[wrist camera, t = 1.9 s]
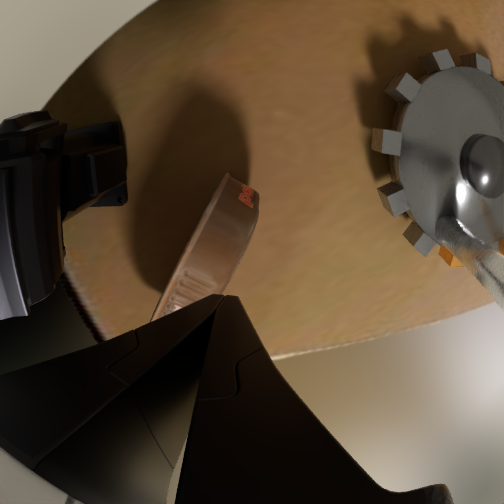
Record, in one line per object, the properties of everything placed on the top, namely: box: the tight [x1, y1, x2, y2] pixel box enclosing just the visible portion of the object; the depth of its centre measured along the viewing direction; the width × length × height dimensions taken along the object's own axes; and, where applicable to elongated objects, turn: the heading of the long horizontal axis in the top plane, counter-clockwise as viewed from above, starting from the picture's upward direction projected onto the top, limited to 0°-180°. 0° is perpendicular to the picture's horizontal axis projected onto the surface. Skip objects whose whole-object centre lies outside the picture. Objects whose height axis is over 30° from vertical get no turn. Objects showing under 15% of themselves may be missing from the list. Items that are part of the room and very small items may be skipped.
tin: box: [149, 173, 259, 323], centre depth 18 cm, size 15×3×8 cm, turn 150°
